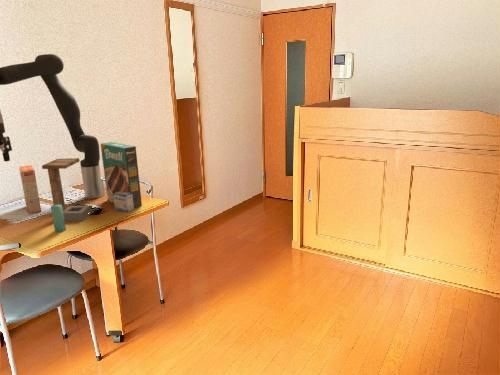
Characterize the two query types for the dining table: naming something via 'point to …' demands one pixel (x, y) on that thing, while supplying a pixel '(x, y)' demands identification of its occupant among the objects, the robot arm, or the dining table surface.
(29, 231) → the dining table surface
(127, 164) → the cake mix box
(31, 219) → the dining table surface
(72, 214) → the socket block
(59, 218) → the peg
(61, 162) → the wooden pedestal stand
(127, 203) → the medicine box
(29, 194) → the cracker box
